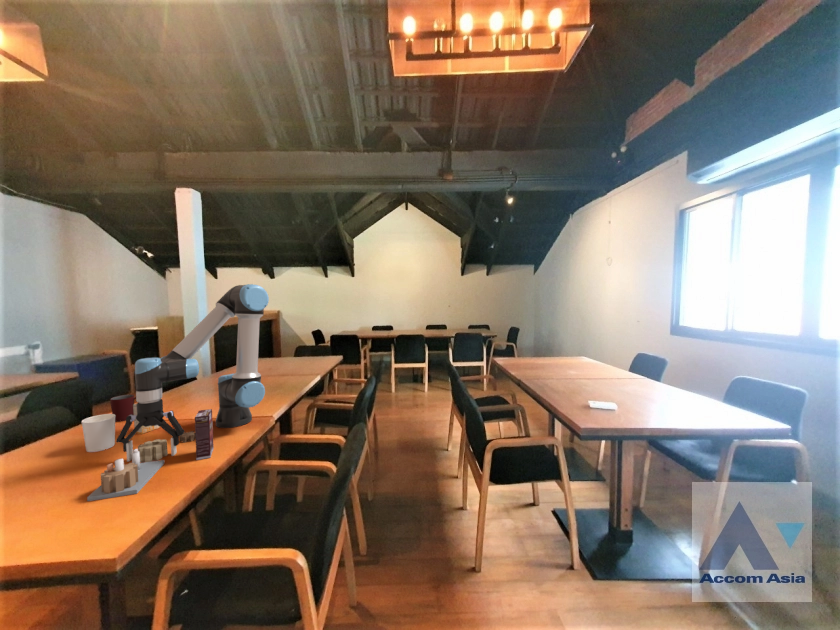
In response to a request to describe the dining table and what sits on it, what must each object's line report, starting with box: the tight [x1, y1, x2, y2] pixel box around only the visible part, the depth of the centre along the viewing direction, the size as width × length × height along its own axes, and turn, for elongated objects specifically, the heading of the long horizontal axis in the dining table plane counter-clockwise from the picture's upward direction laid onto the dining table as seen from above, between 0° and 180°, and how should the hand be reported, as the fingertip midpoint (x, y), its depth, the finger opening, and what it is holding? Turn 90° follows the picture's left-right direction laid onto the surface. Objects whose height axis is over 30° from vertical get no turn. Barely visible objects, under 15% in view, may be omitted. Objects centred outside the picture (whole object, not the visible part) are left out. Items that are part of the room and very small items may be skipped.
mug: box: [109, 394, 136, 423], centre depth 168 cm, size 12×9×11 cm
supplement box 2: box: [194, 408, 215, 461], centre depth 128 cm, size 9×5×16 cm, turn 25°
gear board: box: [86, 448, 165, 502], centre depth 110 cm, size 12×20×9 cm, turn 17°
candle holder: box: [81, 413, 116, 453], centre depth 135 cm, size 10×10×12 cm
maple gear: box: [137, 438, 169, 463], centre depth 126 cm, size 8×8×5 cm
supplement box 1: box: [133, 403, 161, 435], centre depth 152 cm, size 8×5×13 cm, turn 161°
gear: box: [179, 430, 196, 444], centre depth 142 cm, size 6×6×2 cm
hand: (152, 457), depth 126 cm, fingers open, 13 cm apart
